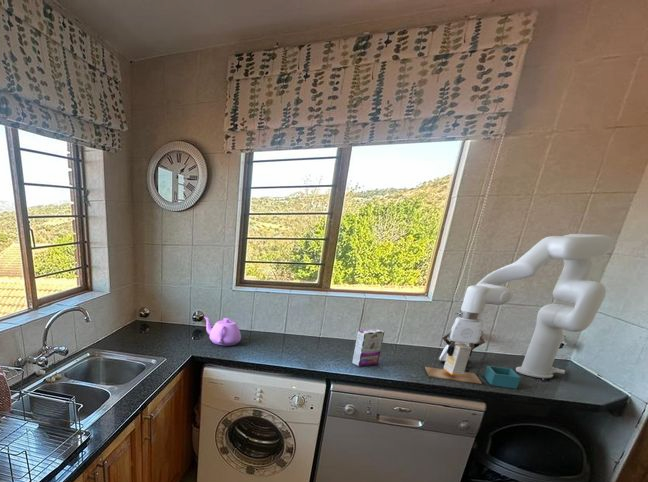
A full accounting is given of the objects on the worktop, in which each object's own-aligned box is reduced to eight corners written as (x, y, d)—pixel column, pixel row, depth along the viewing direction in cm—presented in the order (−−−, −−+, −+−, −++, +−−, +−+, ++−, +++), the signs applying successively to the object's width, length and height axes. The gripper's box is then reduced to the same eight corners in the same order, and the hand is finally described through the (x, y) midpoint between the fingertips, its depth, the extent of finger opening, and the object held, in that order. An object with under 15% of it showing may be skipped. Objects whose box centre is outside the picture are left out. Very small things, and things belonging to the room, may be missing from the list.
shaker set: (438, 363, 194) (444, 341, 190) (435, 360, 198) (441, 338, 194) (467, 365, 191) (474, 343, 187) (463, 363, 195) (470, 341, 191)
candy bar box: (369, 361, 196) (377, 328, 190) (377, 364, 192) (385, 331, 186) (350, 363, 193) (357, 330, 187) (358, 366, 189) (365, 333, 183)
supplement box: (463, 376, 174) (472, 347, 170) (451, 375, 175) (459, 346, 171) (454, 369, 182) (463, 342, 177) (442, 369, 183) (450, 341, 178)
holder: (507, 379, 175) (511, 368, 174) (516, 388, 166) (520, 377, 164) (483, 376, 179) (487, 365, 177) (490, 385, 169) (494, 374, 167)
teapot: (208, 335, 238) (209, 312, 233) (244, 339, 229) (246, 316, 224) (195, 344, 220) (196, 320, 215) (234, 350, 211) (237, 324, 206)
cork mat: (474, 374, 181) (474, 373, 181) (481, 384, 170) (482, 383, 170) (424, 367, 188) (425, 366, 188) (428, 376, 178) (429, 375, 177)
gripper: (447, 315, 170) (436, 355, 176) (498, 319, 163) (484, 361, 169) (444, 311, 176) (433, 351, 182) (493, 315, 169) (479, 356, 175)
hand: (458, 355), depth 176 cm, fingers closed on supplement box, 5 cm apart
